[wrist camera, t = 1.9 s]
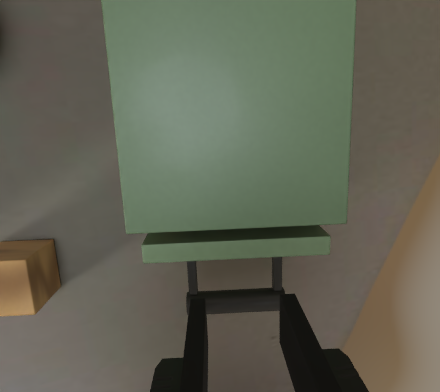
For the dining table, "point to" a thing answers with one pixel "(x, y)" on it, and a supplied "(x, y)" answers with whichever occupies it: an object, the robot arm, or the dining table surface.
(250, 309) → the drawer
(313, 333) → the robot arm
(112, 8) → the cabinet
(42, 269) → the block
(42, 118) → the dining table surface
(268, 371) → the dining table surface
